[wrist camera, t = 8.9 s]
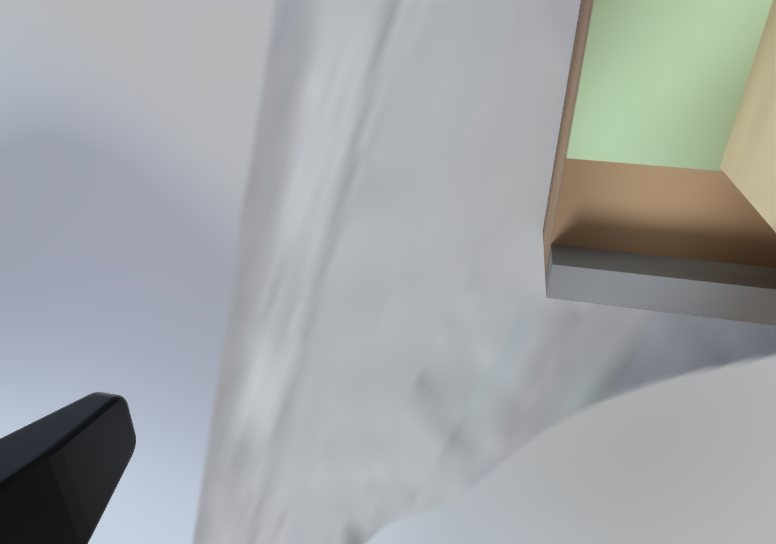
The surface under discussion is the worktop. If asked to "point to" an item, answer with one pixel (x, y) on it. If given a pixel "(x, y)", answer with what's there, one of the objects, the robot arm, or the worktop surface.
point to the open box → (658, 164)
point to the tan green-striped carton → (757, 130)
